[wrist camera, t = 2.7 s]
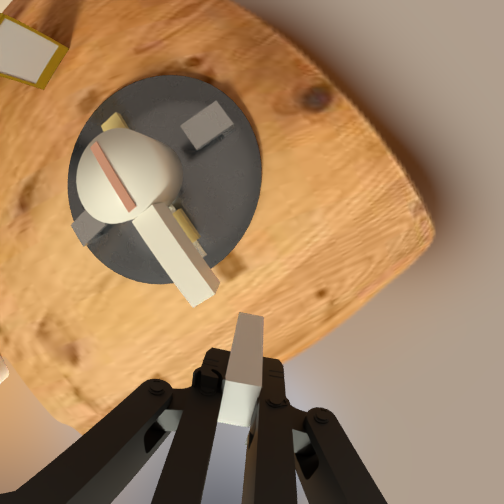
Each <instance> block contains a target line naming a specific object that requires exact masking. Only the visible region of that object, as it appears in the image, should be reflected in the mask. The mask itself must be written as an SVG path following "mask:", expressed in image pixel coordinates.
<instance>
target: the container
mask: <svg viewBox="0 0 504 504" xmlns="http://www.w3.org/2000/svg"><path fill="white" fill-rule="evenodd" d="M8 376H9V371H8V369H7V366H6V364H5V362H4V360H3V359H2V357H1V356H0V383H1V382H3V381H4V380H5V379H6V378H7V377H8Z"/></svg>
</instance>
